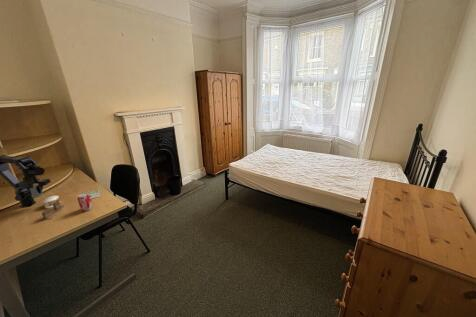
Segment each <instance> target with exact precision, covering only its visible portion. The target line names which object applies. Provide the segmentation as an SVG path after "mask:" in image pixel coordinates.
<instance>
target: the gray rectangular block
mask: <svg viewBox="0 0 476 317" xmlns="http://www.w3.org/2000/svg"><path fill="white" fill-rule="evenodd" d="M35 186H36V185H33V187H31V188H29V189H30V191H31V194H32V198H36V197H40V196H42V195H43V194H44V192H43V191H42V193H39V191H38V188H37V187H35Z"/></svg>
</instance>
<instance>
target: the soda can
mask: <svg viewBox="0 0 476 317" xmlns="http://www.w3.org/2000/svg"><path fill="white" fill-rule="evenodd" d="M77 202H78V204H79V208H80V210H81V211H82V212H88V211H90V210H92V208H93V207H94V206H93V202H92V199H90V196H89V195H88V194H87V193H86V192H83V193H80V194H78V195H77Z"/></svg>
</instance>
